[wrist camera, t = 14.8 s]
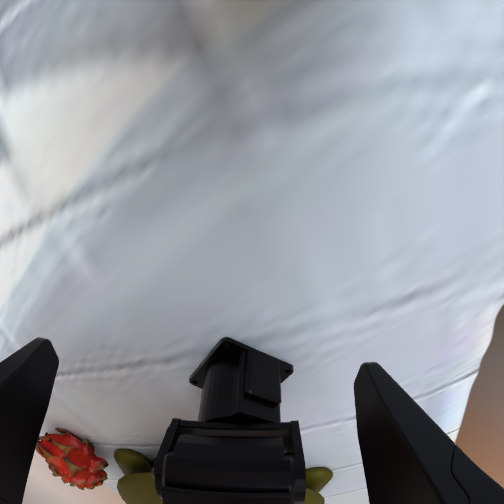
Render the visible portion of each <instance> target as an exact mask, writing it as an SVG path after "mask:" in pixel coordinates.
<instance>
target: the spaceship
mask: <svg viewBox="0 0 504 504" xmlns="http://www.w3.org/2000/svg"><path fill="white" fill-rule="evenodd" d="M114 458H115V460H116V462H117V463H118V465H119V467H120V468H121V470H122V471H123V473H124V475H125V476H124V477H122V478H121V479H119V481H118V485H117V489H118V491H119V494H120V496H121V497H122V499H123V500H124V501H125V502H126V503H127V504H163V499H161V498H159V496H158V495H157V492H156V487H155V479H154V478H153V477H152V475H151V470H152V469H151V467H150V464H149V462H148V460H147V459H146V458H145V456H143V455H142V454H140V453H138V452H135V451H132V450H128V449H119V450H117V451H116V452H115V453H114ZM332 477H333V472H332V471H331V470H330V469H328V468H324V467H315V468H310V469H307V470H306V495H305V502H304V504H324V498H323V497H322V496H321V495H320V494H319V493H318V492H319V491H320V490H321V489H322V488H323V487H324V486H325V485H326V484H327V483H328V482H329V481H330V480H331V479H332Z"/></svg>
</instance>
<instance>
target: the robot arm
mask: <svg viewBox="0 0 504 504" xmlns="http://www.w3.org/2000/svg"><path fill="white" fill-rule="evenodd" d="M227 344H228V345H227ZM58 365H59V359H58V356H57V354H56V352H55V350H54V348H53V345H52V343H51V341H50V340H48V339H45V338H40V337H39V338H36V339H34V340H33V341H31V342H30V343H28V344H27V345H25V346H24V347H22V348H21V349H19V350H18V351H17V352H15V353H14V354H12V355H11V356H9V357H8V358H6V359H5V360H3V361H2V362H1V363H0V504H22V501H23V496H24V491H25V487H26V482H27V478H28V474H29V470H30V466H31V462H32V458H33V455H34V451H35V448H36V444H37V441H38V437H39V434H40V431H41V428H42V424H43V421H44V418H45V415H46V412H47V409H48V405H49V401H50V397H51V393H52V389H53V385H54V381H55V377H56V373H57V369H58ZM287 369H288V370H287ZM292 373H293V366H292V365H291V364H289V363H286V362H284V361H281V360H279V359H277V358H274V357H272V356H270V355H267V354H265V353H263V352H260V351H258V350H256V349H254V348H251V347H249V346H247V345H245V344H242V343H240V342H238V341H236V340H233V339H231V338H228V337H225V338H223V339H221V341H220V342H219V343H218V344H217V346H216V347H215V348H214V349H213V350H212V352H211V353H210V354H209V355H208V356H207V358H206V359H205V360H204V361H203V362H202V364H201V365H200V366H199V367H198V368H197V369H196V371H195V372H194V373H193V374H192V375H191V377H190V383H191V384H192V385H194V386H197V387H199V388H202V389H203V390H202V397H201V403H200V410H199V417H198V421H187V420H181V419H177V418H173V419H172V421H171V424H170V427H168V429H167V431H166V434H165V437H164V439H163V442H162V444H161V447H160V449H159V452H158V455H157V457H156V460H155V462H154V466H153V468H152V470H151V475H152V477H153V478H154V479H155V487H156V492H157V495H158V496H159V498H161V499H163V504H304V502H305V495H306V470H305V460H304V454H303V448H302V441H301V435H300V429H299V422H298V421H290V422H281V420H280V403H281V383H282V382H283V381H284V380H285V379H286V378H288V377H289V376H290V375H291V374H292ZM354 396H355V407H356V420H357V432H358V439H359V445H360V450H361V456H362V461H363V467H364V472H365V478H366V484H367V490H368V496H369V502H370V504H504V489H503V487H501V486H500V485H499V484H498V483H496V482H495V481H494V480H493V479H492V478H490V477H489V476H488V475H487V474H486V473H484V472H483V471H482V470H481V469H480V468H479V467H478V466H477V465H476V464H475V463H474V462H473V461H471V459H469V457H468V456H467V455H466V454H465V453H464V452H463V451H462V450H461V449H460V448H459V447H458V446H457V445H455V443H454V442H453V441H452V440H451V439H450V438H449V437H448V436H447V435H446V433H445V432H444V431H443V430H442V429H441V428H440V427H439V426H438V425H437V424H436V423H435V422H434V421H433V420H432V419H431V418H430V417H429V416H428V415H427V414H426V413H425V411H424V410H423V409H422V408H421V407H420V406H419V405H418V404H417V403H416V402H415V401H414V400H413V399H412V398H411V397H410V396H409V395H408V394H407V393H406V392H405V391H404V390H403V389H402V388H401V386H400V385H399V384H398V383H397V382H396V381H395V380H394V379H393V378H392V377H391V376H390V375H389V374H388V373H387V372H386V371H385V370H384V369H383V368H382V367H381V366H380V365H379V364H378V363H376V362H367V363H363V364H362V365H361V367H360V369H359V372H358V374H357V377H356V379H355V382H354Z"/></svg>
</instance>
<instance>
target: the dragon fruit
mask: <svg viewBox="0 0 504 504" xmlns="http://www.w3.org/2000/svg"><path fill="white" fill-rule="evenodd" d="M55 429H56V431H59V432H61V433H65V434H64V435H58V434H48V433H47V432H46V433H45V436H41V437H38V441H37V444H36V450H37V452H38V453H39V454H40V455H41V456H42V457H44V458H45V459H46V460H45V461H46V462H47V463H48V464H49V469H50V470H51V471H53V473H52V474H53V476H61V477H62V481H63V482H64V483H68V482H69V483H71V484H70V486H77V487H78V488H79V489H81V490H84V488H85V487H86V488H88V489H94V487H95V486H99V485H102V484H103V481H104V480H106V479H107V473H106V472H105V471H104V470H102V469H104V468H105V467H107V466H108V465H109V464H108V463H107V461H106V460H105V459H103V458H101V457H97V456H96V455H95V453H94V447H93V446H90V445H89V443H88V440H83V441H82V442H81V441H80V440H79V439H77V438H76V437H74V436H72V435H71V434H70V433H69V432H68V431H67V430H64V429H58V428H55ZM39 440H41V441H39Z"/></svg>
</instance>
